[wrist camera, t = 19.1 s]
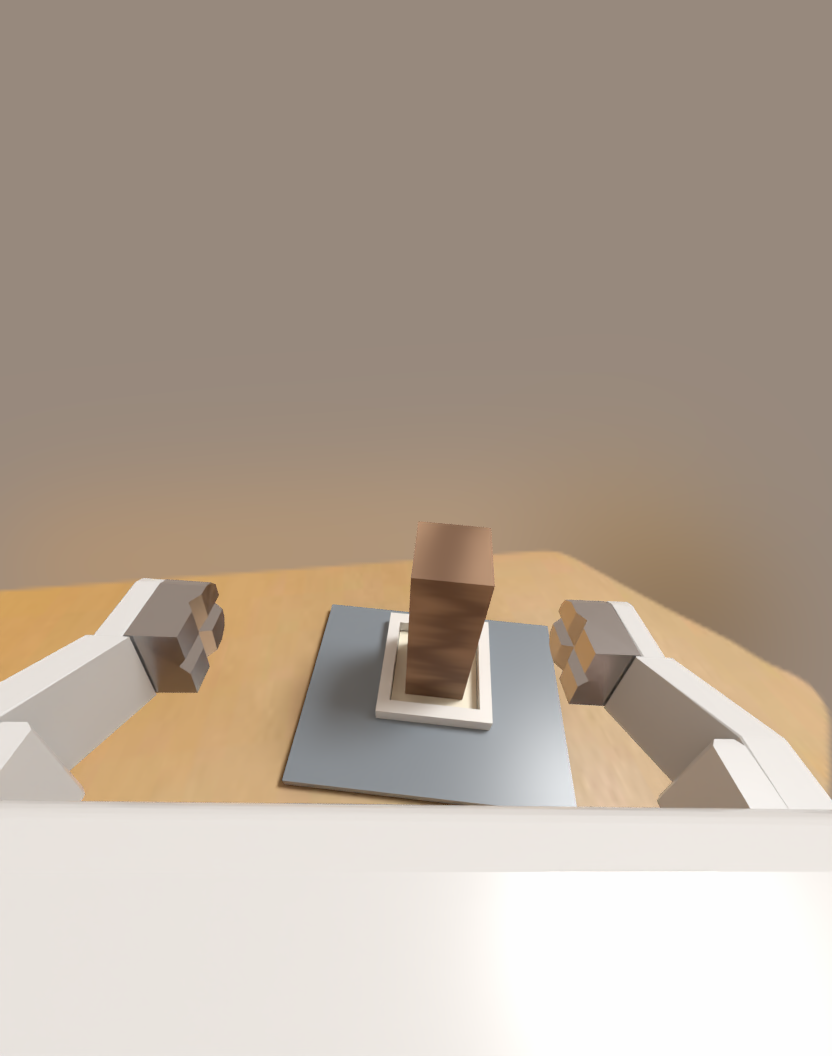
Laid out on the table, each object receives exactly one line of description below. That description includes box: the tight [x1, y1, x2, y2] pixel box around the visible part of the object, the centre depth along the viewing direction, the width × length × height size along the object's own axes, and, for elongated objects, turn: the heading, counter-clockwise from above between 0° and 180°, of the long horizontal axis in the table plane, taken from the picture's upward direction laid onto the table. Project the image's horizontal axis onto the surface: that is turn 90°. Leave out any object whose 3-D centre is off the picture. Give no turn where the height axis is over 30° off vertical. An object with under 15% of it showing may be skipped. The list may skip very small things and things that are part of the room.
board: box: [282, 605, 577, 807], centre depth 36 cm, size 22×16×1 cm
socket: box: [375, 612, 493, 730], centre depth 37 cm, size 10×10×2 cm
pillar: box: [405, 521, 495, 700], centre depth 32 cm, size 5×5×16 cm
